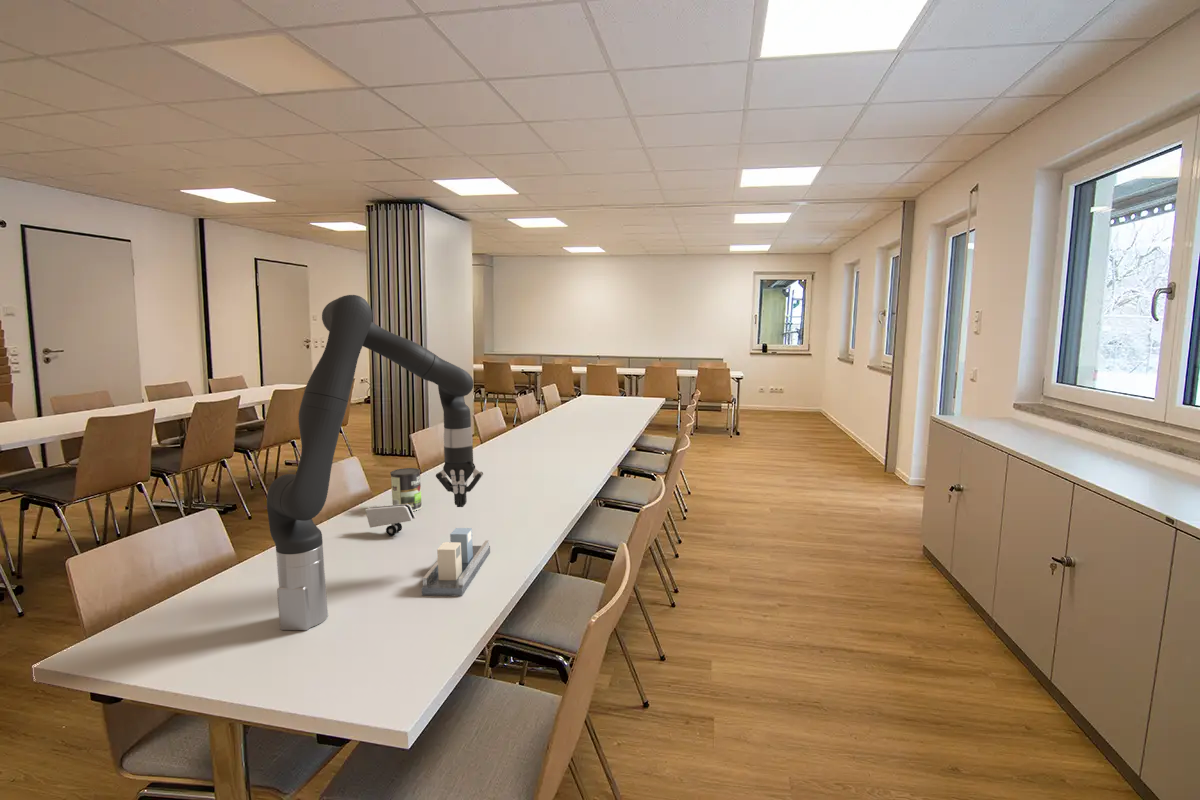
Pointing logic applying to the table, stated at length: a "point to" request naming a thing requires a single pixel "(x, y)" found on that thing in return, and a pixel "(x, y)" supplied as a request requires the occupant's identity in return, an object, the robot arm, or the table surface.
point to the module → (463, 542)
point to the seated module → (449, 561)
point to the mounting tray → (459, 586)
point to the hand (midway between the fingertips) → (460, 506)
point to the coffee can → (406, 487)
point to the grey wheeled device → (390, 516)
